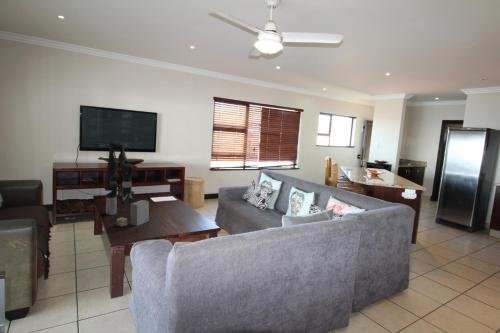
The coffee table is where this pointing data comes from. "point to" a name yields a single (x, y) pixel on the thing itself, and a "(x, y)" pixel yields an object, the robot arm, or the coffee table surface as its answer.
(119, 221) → the maple cube
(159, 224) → the coffee table surface
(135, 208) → the hard drive box
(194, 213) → the coffee table surface
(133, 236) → the coffee table surface
